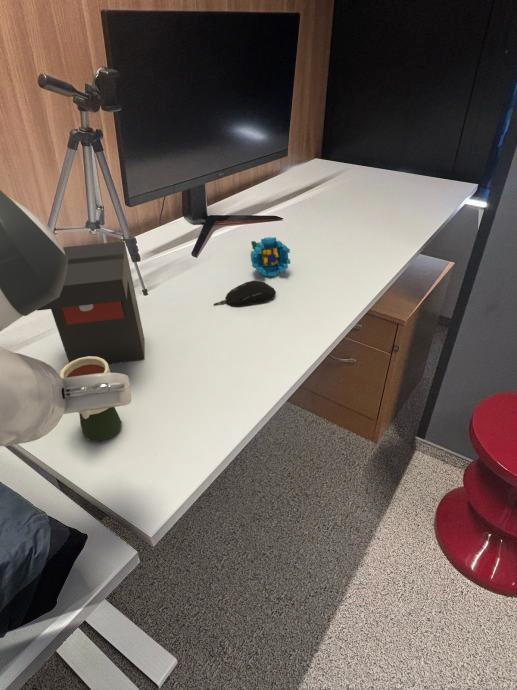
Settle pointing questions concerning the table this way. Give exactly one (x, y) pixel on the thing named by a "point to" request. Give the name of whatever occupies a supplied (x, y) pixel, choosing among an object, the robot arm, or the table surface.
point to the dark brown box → (99, 305)
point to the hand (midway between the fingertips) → (56, 402)
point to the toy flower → (269, 256)
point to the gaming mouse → (249, 294)
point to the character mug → (99, 420)
